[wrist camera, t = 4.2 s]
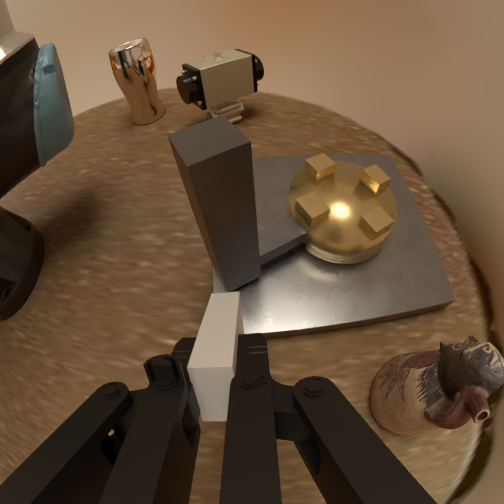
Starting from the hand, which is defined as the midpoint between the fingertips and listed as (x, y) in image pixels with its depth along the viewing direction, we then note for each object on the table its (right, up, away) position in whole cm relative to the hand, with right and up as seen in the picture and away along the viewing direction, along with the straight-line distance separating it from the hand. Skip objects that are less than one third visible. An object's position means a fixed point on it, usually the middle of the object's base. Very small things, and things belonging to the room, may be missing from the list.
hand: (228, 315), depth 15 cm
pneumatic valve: (-3, +24, +25) cm, 35 cm away
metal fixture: (+6, +5, +10) cm, 13 cm away
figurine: (+14, -9, +4) cm, 17 cm away
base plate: (+9, +5, +13) cm, 16 cm away
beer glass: (-17, +28, +28) cm, 43 cm away
